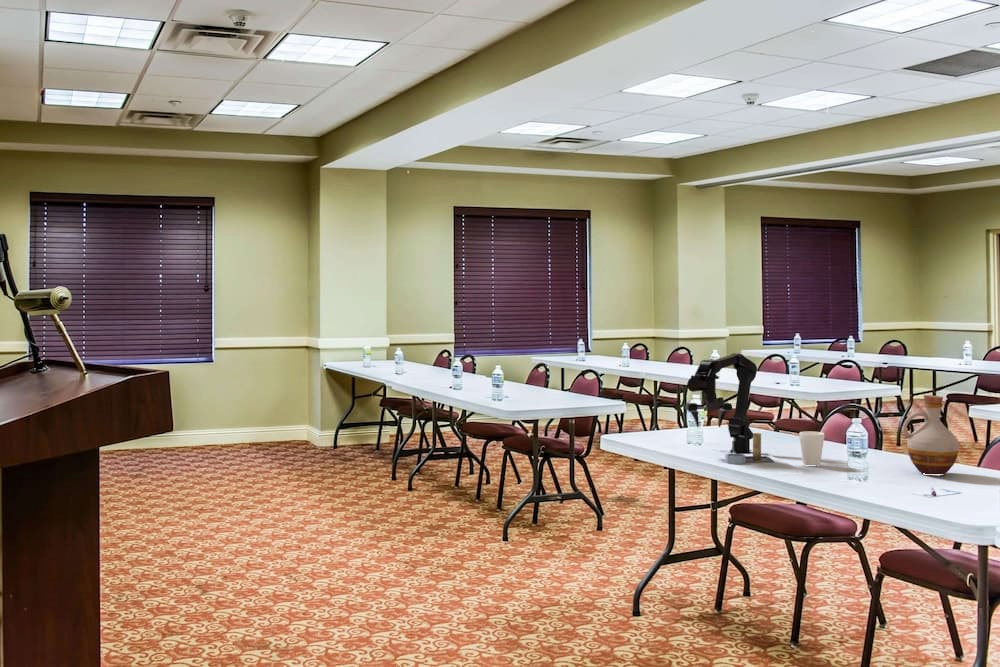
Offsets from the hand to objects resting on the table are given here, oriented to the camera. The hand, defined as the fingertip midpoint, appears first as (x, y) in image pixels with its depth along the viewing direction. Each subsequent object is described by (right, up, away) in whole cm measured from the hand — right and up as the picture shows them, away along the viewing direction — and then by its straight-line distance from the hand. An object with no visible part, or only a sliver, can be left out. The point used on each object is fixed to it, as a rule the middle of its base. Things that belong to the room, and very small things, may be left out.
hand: (708, 427), depth 385 cm
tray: (+17, -13, -12) cm, 25 cm away
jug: (+75, -14, -39) cm, 86 cm away
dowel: (+17, -12, -12) cm, 24 cm away
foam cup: (+37, -14, -18) cm, 44 cm away
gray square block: (+7, -14, -17) cm, 23 cm away
